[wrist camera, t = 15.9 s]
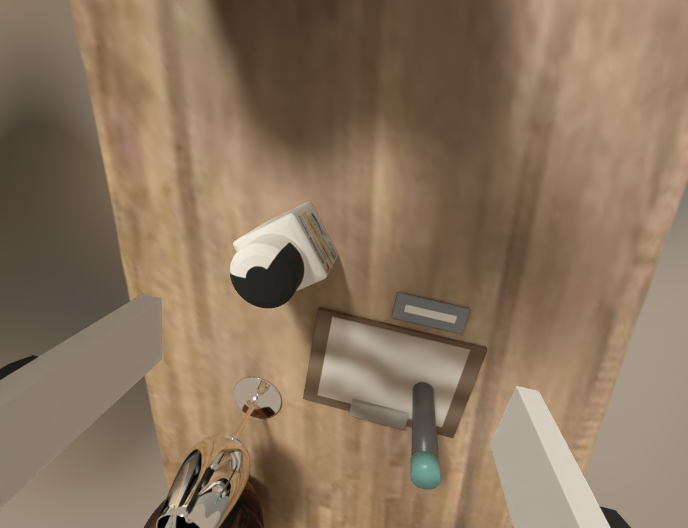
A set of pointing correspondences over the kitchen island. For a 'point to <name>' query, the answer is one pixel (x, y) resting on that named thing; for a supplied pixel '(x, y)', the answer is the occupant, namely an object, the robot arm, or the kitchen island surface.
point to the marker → (424, 438)
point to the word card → (430, 313)
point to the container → (282, 257)
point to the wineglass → (217, 466)
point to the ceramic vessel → (232, 512)
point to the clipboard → (388, 370)
